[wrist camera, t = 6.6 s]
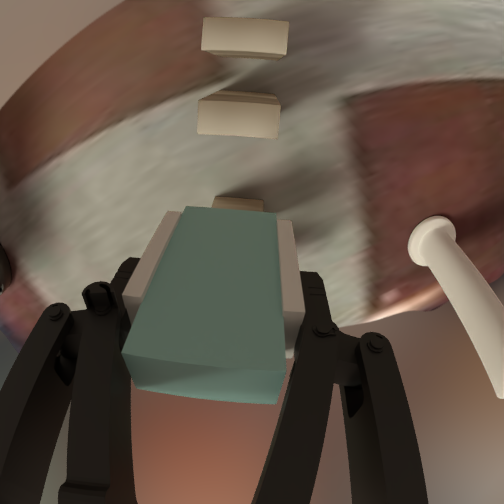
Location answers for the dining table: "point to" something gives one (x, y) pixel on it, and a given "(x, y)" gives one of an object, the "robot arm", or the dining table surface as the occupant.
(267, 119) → the tile
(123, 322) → the robot arm
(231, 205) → the tile
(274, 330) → the tile
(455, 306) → the white post
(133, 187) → the dining table surface
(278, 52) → the tile
